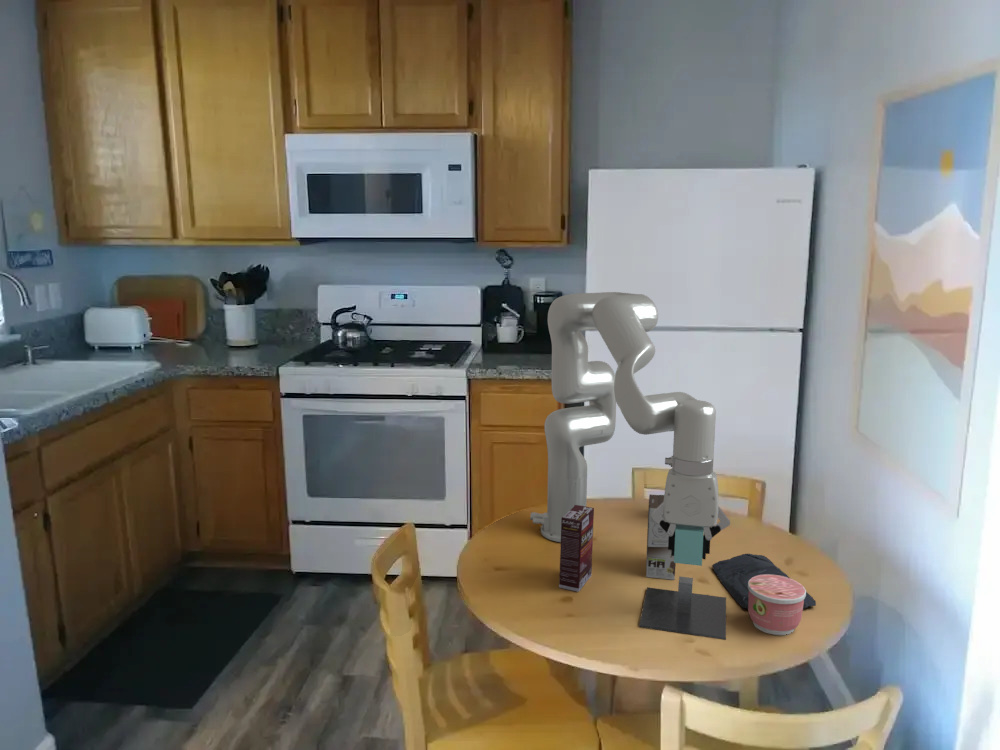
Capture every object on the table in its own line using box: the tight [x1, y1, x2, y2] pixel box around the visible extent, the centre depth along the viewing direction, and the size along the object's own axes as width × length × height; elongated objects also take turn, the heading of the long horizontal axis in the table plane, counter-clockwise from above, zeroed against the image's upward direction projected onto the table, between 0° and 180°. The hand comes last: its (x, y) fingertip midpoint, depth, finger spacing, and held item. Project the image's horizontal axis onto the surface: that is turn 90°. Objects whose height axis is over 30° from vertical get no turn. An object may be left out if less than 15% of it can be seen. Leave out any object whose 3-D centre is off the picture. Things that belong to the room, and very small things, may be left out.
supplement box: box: [558, 505, 595, 593], centre depth 167 cm, size 9×5×16 cm, turn 155°
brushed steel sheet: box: [638, 575, 727, 640], centre depth 155 cm, size 16×16×7 cm
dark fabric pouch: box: [711, 553, 817, 610], centre depth 166 cm, size 15×22×5 cm
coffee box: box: [645, 494, 677, 581], centre depth 173 cm, size 9×6×16 cm
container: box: [747, 574, 807, 636], centre depth 151 cm, size 10×10×8 cm
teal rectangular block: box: [674, 525, 704, 567], centre depth 152 cm, size 5×5×7 cm
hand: (688, 554), depth 153 cm, fingers closed on teal rectangular block, 5 cm apart
